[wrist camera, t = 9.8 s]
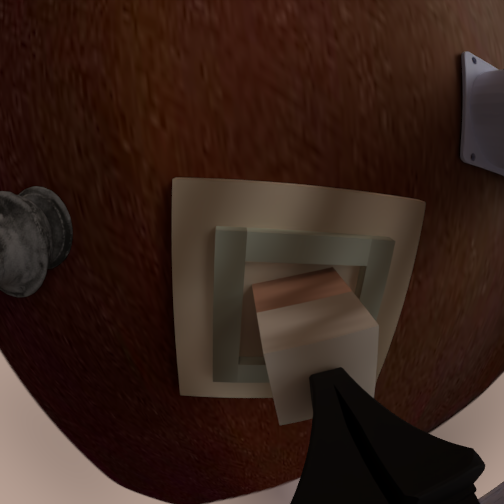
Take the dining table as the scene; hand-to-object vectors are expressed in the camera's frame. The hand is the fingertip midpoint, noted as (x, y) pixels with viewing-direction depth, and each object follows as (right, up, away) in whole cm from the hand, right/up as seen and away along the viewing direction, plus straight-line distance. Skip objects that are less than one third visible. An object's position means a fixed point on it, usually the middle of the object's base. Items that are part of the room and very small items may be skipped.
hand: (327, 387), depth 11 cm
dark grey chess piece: (-16, +7, +4) cm, 18 cm away
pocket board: (0, +2, +7) cm, 7 cm away
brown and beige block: (0, +2, +6) cm, 6 cm away
